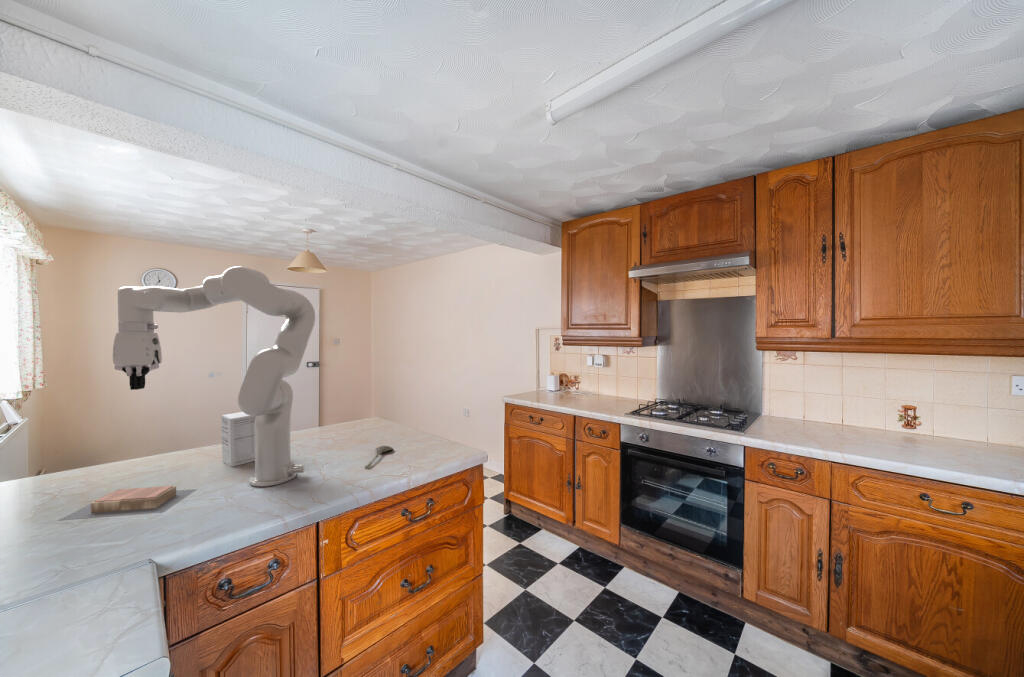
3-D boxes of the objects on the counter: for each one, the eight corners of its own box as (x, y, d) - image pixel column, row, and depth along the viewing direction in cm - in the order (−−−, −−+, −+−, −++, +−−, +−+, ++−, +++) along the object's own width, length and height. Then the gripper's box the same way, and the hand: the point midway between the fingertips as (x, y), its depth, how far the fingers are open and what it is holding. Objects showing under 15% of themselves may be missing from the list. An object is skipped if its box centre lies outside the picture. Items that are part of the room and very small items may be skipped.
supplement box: (251, 454, 141) (251, 410, 140) (262, 459, 136) (261, 413, 135) (221, 461, 133) (220, 414, 133) (230, 467, 128) (229, 418, 127)
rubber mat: (197, 490, 109) (197, 489, 109) (162, 514, 96) (162, 512, 96) (107, 496, 105) (107, 495, 105) (58, 522, 91) (58, 520, 91)
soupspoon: (395, 451, 149) (379, 451, 149) (395, 442, 149) (378, 443, 149) (376, 469, 127) (357, 470, 127) (376, 459, 127) (356, 460, 127)
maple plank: (117, 498, 103) (176, 494, 106) (91, 512, 95) (155, 507, 98) (117, 489, 103) (176, 485, 106) (90, 502, 95) (155, 497, 98)
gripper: (173, 328, 118) (174, 386, 118) (117, 328, 115) (118, 387, 115) (156, 328, 110) (157, 390, 111) (95, 328, 107) (96, 391, 108)
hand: (137, 388), depth 113 cm, fingers closed
